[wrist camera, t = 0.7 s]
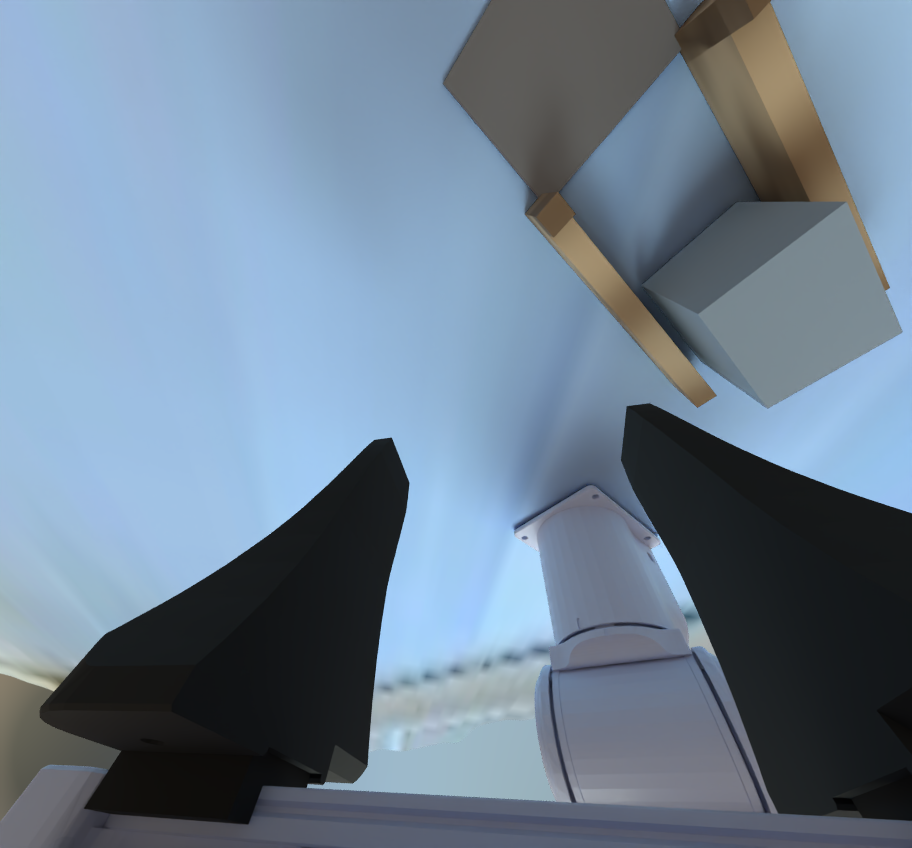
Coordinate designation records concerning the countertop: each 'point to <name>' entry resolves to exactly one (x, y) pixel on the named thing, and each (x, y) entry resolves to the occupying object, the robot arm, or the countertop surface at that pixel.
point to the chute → (754, 142)
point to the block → (776, 296)
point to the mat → (559, 77)
